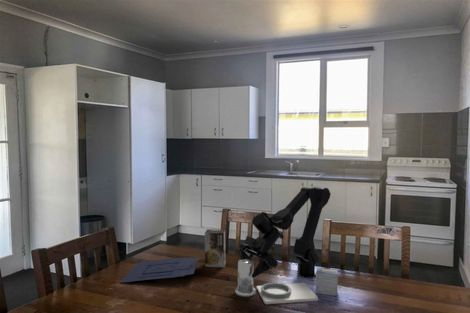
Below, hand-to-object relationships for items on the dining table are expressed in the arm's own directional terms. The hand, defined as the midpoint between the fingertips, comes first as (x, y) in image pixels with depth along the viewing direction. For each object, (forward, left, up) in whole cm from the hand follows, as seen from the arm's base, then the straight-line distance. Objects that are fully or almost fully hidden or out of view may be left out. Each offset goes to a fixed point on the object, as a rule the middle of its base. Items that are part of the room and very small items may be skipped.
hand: (245, 273), depth 139 cm
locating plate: (-15, +4, -8) cm, 17 cm away
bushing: (0, 0, -8) cm, 8 cm away
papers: (+32, -25, -8) cm, 41 cm away
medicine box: (-31, +5, -8) cm, 33 cm away
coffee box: (+8, -32, -8) cm, 34 cm away
